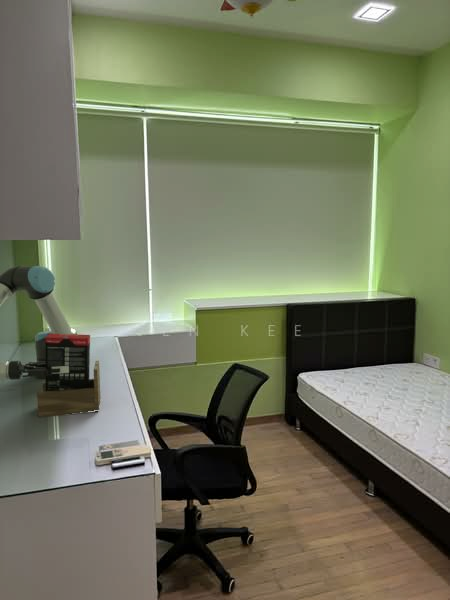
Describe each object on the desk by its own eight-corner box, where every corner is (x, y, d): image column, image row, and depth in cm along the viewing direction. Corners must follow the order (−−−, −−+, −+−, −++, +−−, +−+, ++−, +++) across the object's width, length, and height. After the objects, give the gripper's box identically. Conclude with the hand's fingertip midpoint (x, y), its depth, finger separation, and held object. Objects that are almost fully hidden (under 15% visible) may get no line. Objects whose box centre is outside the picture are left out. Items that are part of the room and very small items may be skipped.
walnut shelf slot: (44, 404, 185) (42, 364, 182) (100, 399, 190) (99, 360, 188) (38, 417, 171) (35, 373, 169) (98, 411, 177) (97, 369, 174)
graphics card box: (90, 393, 186) (90, 332, 180) (87, 400, 179) (88, 337, 174) (48, 393, 183) (48, 332, 177) (44, 400, 176) (43, 336, 171)
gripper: (16, 372, 183) (72, 368, 188) (3, 387, 164) (67, 382, 170) (14, 355, 182) (72, 352, 187) (2, 368, 163) (66, 364, 169)
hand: (69, 366), depth 178 cm, fingers closed on graphics card box, 6 cm apart
